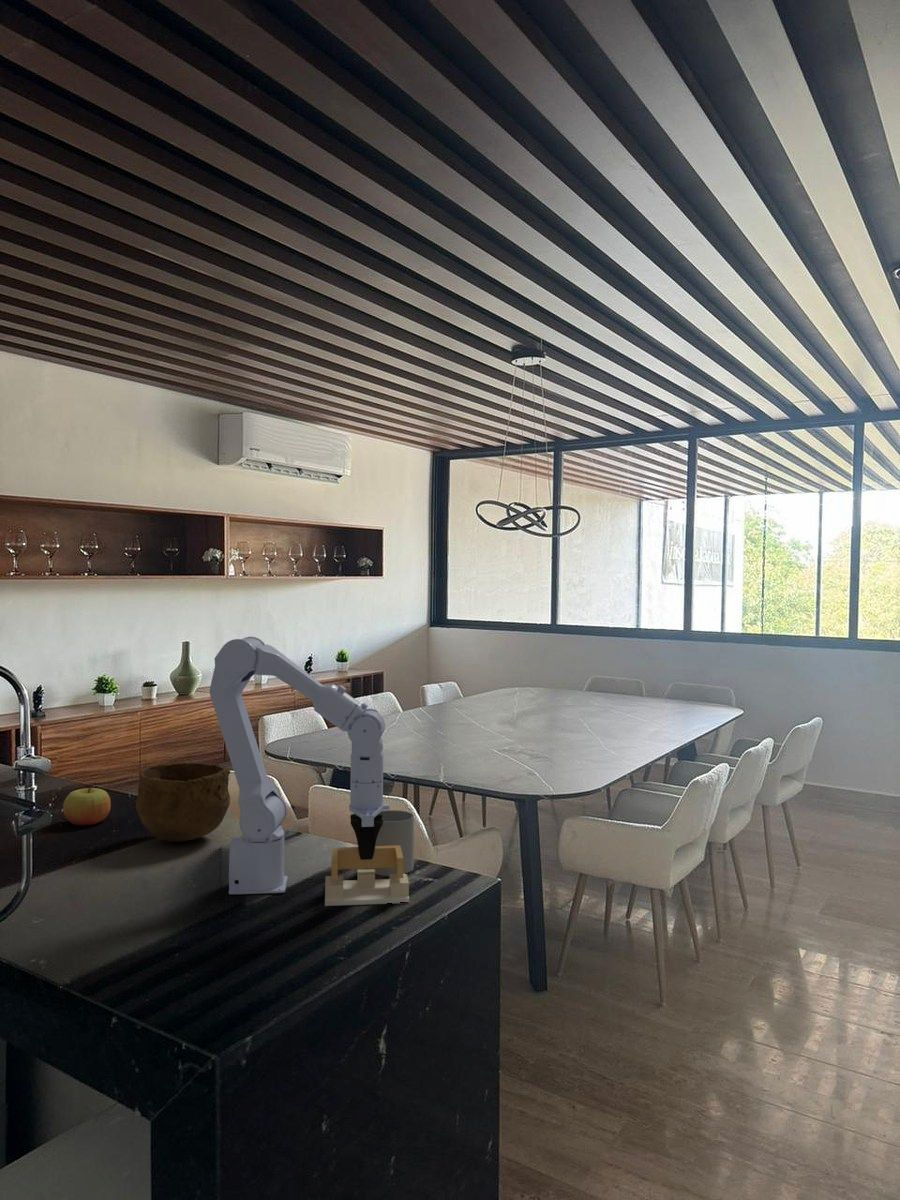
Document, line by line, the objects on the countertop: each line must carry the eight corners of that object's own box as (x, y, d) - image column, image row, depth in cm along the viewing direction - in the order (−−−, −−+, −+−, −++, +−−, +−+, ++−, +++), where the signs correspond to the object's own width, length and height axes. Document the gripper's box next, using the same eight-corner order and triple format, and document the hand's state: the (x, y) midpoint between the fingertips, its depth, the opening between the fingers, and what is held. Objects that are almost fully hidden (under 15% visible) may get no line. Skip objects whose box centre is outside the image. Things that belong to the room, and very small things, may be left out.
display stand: (409, 902, 145) (409, 885, 145) (324, 905, 143) (325, 887, 143) (404, 883, 155) (405, 866, 155) (326, 885, 153) (326, 868, 153)
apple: (99, 829, 189) (99, 792, 189) (55, 828, 189) (55, 792, 189) (117, 817, 198) (117, 782, 198) (75, 817, 199) (75, 782, 199)
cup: (406, 877, 158) (407, 822, 158) (363, 874, 160) (363, 820, 160) (417, 863, 166) (417, 811, 166) (376, 860, 168) (376, 809, 168)
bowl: (249, 836, 184) (249, 766, 183) (178, 859, 168) (179, 782, 168) (189, 823, 194) (189, 757, 194) (117, 843, 178) (117, 771, 178)
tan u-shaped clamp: (403, 878, 146) (403, 858, 146) (331, 881, 144) (331, 860, 144) (400, 864, 153) (400, 845, 153) (332, 867, 151) (331, 847, 151)
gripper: (392, 788, 145) (391, 869, 145) (387, 771, 159) (387, 844, 159) (349, 789, 144) (349, 870, 144) (349, 771, 158) (348, 845, 158)
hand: (366, 857), depth 151 cm, fingers closed on tan u-shaped clamp
